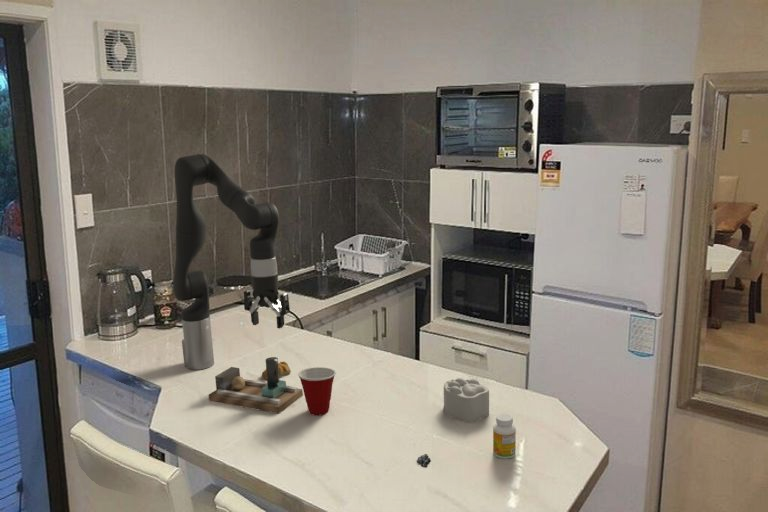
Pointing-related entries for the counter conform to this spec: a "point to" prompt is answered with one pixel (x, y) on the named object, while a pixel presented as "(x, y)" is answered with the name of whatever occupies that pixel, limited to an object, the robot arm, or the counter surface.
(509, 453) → the supplement bottle
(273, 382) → the jaw
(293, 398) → the base
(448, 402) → the lumpy-topped squat cylinder
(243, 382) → the walnut
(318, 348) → the counter surface
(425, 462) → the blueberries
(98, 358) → the counter surface
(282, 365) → the pastry
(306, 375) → the plastic cup
